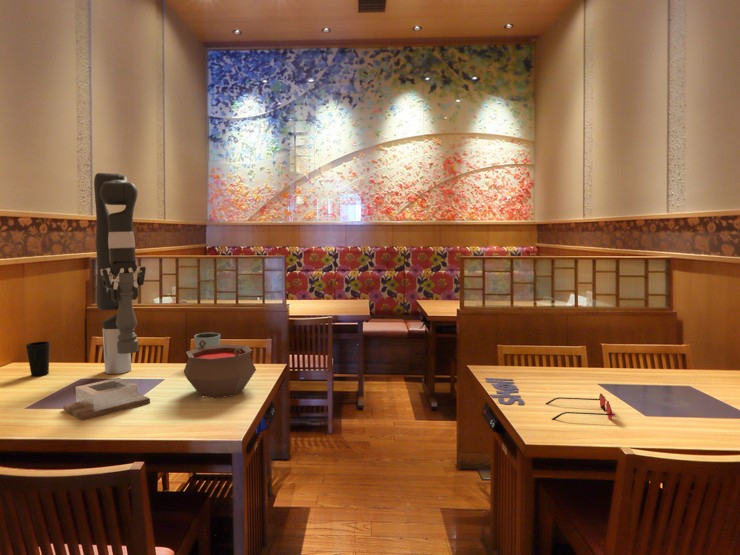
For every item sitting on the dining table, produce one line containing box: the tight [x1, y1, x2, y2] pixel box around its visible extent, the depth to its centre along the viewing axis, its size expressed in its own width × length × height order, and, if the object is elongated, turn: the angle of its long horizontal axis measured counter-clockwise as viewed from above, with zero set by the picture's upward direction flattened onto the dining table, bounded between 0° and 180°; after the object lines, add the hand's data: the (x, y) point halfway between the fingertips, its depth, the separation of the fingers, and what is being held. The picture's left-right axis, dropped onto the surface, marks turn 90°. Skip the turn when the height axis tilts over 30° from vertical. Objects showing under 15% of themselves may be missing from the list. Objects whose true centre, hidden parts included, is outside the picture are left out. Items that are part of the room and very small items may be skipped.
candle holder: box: [114, 273, 140, 354], centre depth 170 cm, size 6×6×25 cm
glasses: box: [545, 392, 616, 421], centre depth 154 cm, size 14×16×5 cm
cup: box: [25, 341, 51, 378], centre depth 203 cm, size 8×8×12 cm
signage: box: [484, 377, 525, 406], centre depth 176 cm, size 28×1×10 cm
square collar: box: [74, 377, 139, 412], centre depth 165 cm, size 13×13×5 cm
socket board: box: [62, 393, 151, 421], centre depth 165 cm, size 14×20×2 cm
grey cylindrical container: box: [193, 332, 221, 349], centre depth 216 cm, size 10×10×12 cm
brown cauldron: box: [183, 339, 257, 399], centre depth 179 cm, size 24×24×16 cm
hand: (125, 300), depth 169 cm, fingers closed on candle holder, 5 cm apart
